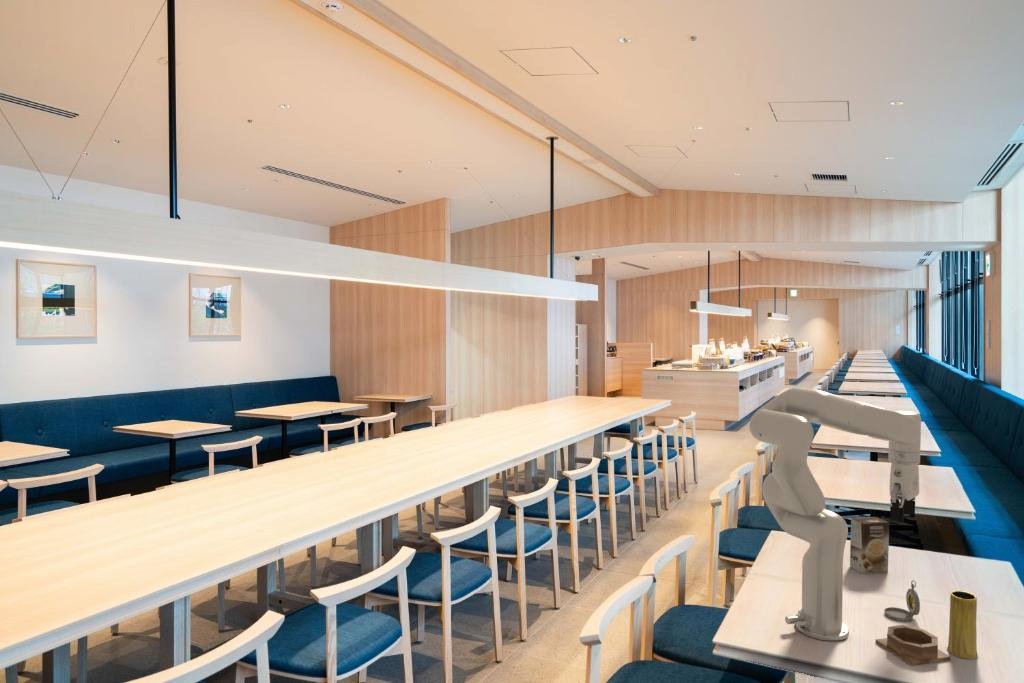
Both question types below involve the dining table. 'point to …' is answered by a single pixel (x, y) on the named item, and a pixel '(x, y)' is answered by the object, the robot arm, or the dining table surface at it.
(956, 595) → the vase
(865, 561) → the coffee box
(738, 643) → the dining table surface
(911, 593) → the pocket watch
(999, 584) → the dining table surface
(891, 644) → the collar
